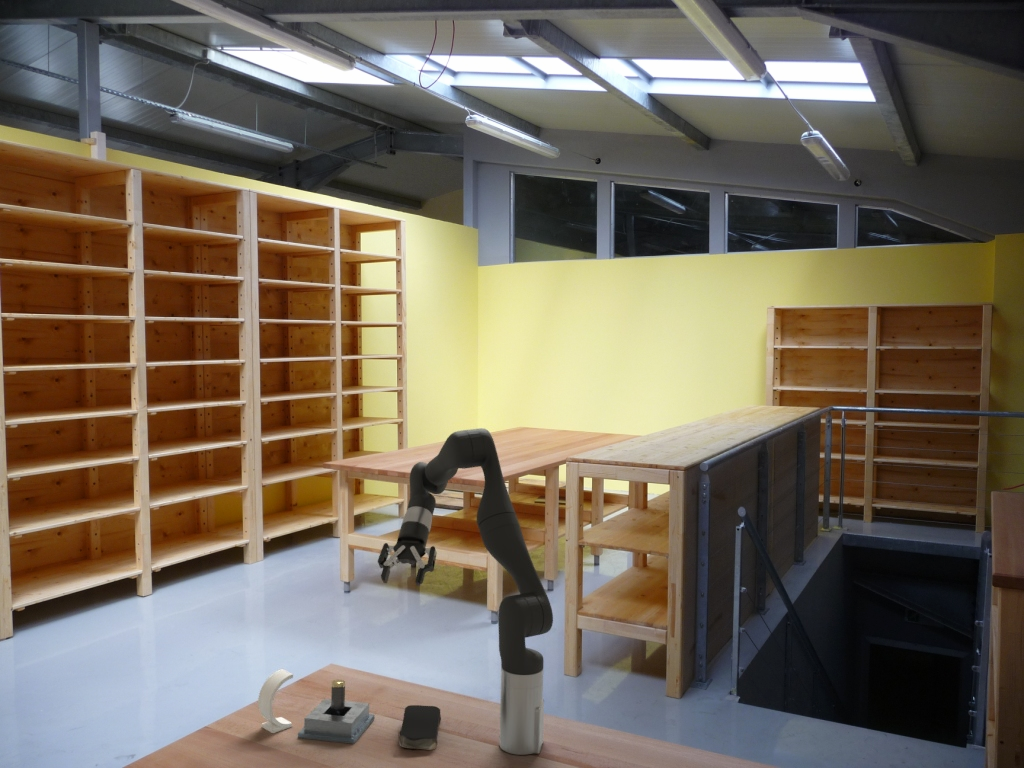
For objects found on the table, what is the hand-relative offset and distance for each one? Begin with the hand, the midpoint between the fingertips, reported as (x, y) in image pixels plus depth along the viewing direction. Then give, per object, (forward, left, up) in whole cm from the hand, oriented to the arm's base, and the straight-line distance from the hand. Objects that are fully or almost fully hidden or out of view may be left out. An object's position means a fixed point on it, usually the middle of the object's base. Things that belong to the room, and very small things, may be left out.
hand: (400, 583), depth 204 cm
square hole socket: (+8, +20, -29) cm, 36 cm away
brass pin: (+8, +20, -28) cm, 35 cm away
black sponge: (-11, +18, -29) cm, 36 cm away
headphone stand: (+22, +23, -29) cm, 43 cm away
